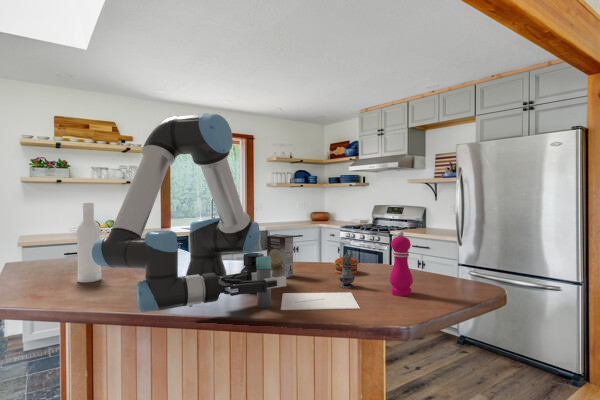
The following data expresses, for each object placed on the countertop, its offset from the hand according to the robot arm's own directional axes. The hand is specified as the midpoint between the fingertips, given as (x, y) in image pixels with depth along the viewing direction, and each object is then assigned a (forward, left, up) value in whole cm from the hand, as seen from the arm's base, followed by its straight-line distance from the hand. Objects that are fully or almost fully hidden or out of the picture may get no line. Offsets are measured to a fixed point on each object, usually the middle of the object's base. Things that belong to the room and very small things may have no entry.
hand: (278, 277), depth 105 cm
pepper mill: (+39, +9, -8) cm, 41 cm away
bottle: (-74, +33, -8) cm, 81 cm away
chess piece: (+23, +19, -8) cm, 31 cm away
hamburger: (+26, +41, -8) cm, 49 cm away
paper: (+12, +2, -8) cm, 14 cm away
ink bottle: (-9, +16, -8) cm, 20 cm away
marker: (-4, -2, -8) cm, 9 cm away
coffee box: (-1, +37, -8) cm, 37 cm away
